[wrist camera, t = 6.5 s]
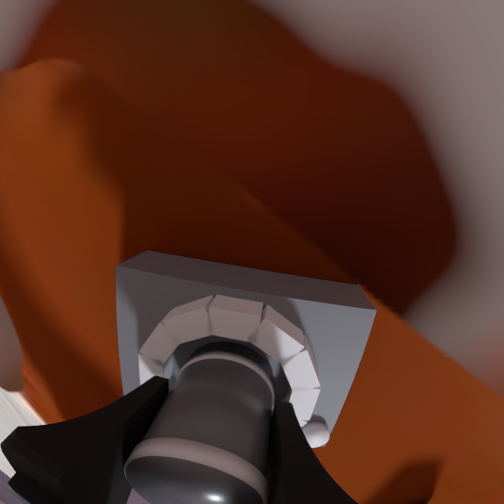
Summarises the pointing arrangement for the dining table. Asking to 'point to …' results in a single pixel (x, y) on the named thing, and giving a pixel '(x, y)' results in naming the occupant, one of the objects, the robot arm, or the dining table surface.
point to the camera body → (244, 328)
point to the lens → (209, 432)
